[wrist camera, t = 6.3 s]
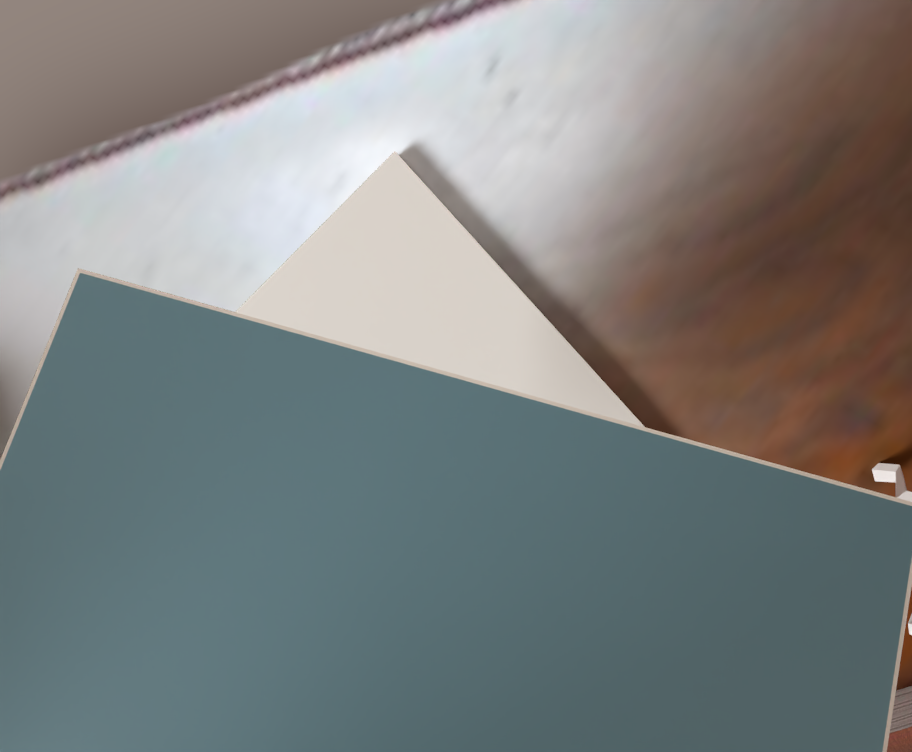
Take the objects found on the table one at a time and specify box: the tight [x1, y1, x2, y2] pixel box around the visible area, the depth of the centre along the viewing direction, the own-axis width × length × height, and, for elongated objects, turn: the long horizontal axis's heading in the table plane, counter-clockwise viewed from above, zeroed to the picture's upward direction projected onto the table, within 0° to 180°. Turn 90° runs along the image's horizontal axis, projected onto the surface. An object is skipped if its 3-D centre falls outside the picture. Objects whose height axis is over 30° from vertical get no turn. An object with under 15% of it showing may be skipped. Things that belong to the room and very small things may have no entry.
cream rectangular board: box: [236, 152, 644, 427], centre depth 22 cm, size 22×15×1 cm
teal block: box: [0, 268, 912, 752], centre depth 9 cm, size 4×4×12 cm
